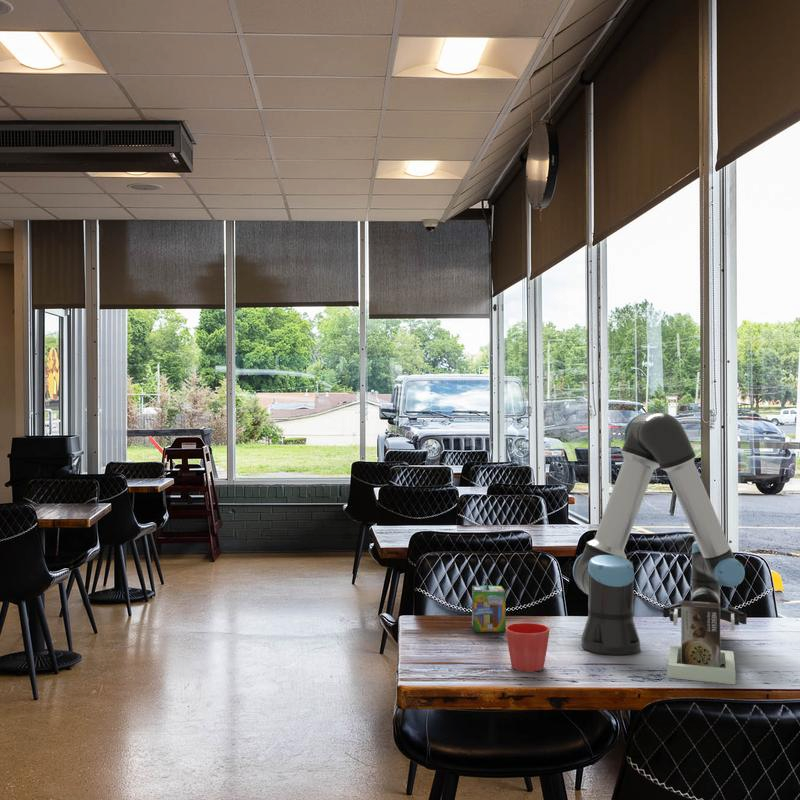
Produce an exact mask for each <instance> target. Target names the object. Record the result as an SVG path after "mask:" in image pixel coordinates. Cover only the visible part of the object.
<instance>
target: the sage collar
mask: <svg viewBox="0 0 800 800" xmlns="http://www.w3.org/2000/svg"><path fill="white" fill-rule="evenodd" d="M669 647H670V648H669V652H668V653H669V654H668V660H667V672H666V673H667V677H666V678H670V679H677V680H678V679H680V680H688V681H695V682H696V681H697V682H698V681H699V682H706V683H716V682H717V684H726V685H736V665H735V655H734V651H732V650H722V649H720V654H721V665H722V664H725V665H724V667H721V668H719V667H709V666H698V665H688V664H681V663H679V661H681V645H680V646H678V645H670V646H669Z"/></svg>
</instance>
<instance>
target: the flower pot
mask: <svg viewBox="0 0 800 800" xmlns="http://www.w3.org/2000/svg"><path fill="white" fill-rule="evenodd" d="M550 630H551V629H550V627H548V626H547V625H544V624H542V623H533V622H517V623H511V624H508V625H506V632H505V635H506V636H505V637H506V641H507V647H508V652H509V653H508V654H509V659H510V663H511V664H510V665H511V668H512V669H514V670H515V671H520V672H528V673H529V672H530V673H533V672H534V673H535V672H537V671H542V670H543V669H544V668H545V667H544V666H545V661H546V655H547V651H548V645H549V636H550Z"/></svg>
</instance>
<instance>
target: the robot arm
mask: <svg viewBox="0 0 800 800" xmlns="http://www.w3.org/2000/svg"><path fill="white" fill-rule="evenodd" d="M623 437H624V443H623V446H622V448H621V452H620V453H621V455H622V457H623V461H622V464H621V466H620V470H619V472H618V474H617V477H616V481H615V483H614V484H613V488H612V491H611V493H610V496H609V498H608V501H607V503H606V507H605V509H604V512H603V515H602V517H601V520H600V523H599V525H598V528H597V529H596V530H597V531H596V533H595V536H594V538H593V539H591V540H589V541H588V540H587V541H586V544H585V547H584V549H583V552H582V553H581V554H580V555H578V557H577V558H576V559H575V561H574V564H573V567H572V576H573V579H574V582H575V583H576V586H577V587H578V588H579V590H581V591H582V592H583V593H584V594H586V595H587V596H588V599H587V600H588V603H587V604H588V605H587V606H588V609H587V611H588V612H587V614H588V616H587V620H586V623H585V626H584V628H583V631H582V635H581V642H580V643H581V644H580V645H581V647H582V649H584V650H586V651H589V652H591V653H596V654H601V655H602V654H603V655H612V656H613V655H615V656H625V655H632V654H637V653H638V652H640V651H641V640H640V637H639V634H638V630H637V627H636V624H635V621H634V600H635V599H634V596H635V595H634V591H635V590H634V587H635V586H634V585H635V584H634V583H635V572H634V565H633V563H632V561H630V560H629V559H627V558H628V557H627V555H626V553H625V548H626V545H627V543H628V541H629V538H630V535H631V532H632V529H633V527H634V525H635V521H636V519H637V516H638V513H639V511H640V508H641V505H642V502H643V500H644V497H645V495H646V491H647V490H648V486H649V484H650V482H651V478H652V477H653V473H654V471H655V470H657V469H659V468H660V470H663V471H665V472H666V474H667V477H668V479H669V481H670V484H671V486H672V488H673V490H674V493H675V495H676V497H677V499H678V502H679V504H680V506H681V509H682V511H683V513H684V516H685V519H686V521H687V523H688V525H689V528H690V529H691V533H692V535H693V537H694V539H695V541H694V542H693V543H692V545H691V554H690V555H691V597H690V601H699V602H714V603H719V604H720V620H723V621H726V622H729V623H730V630H731V631H735V626H739V625H740V624H741V625H747V619H748V618H747V613H745V612H743V611H740V610H738V609H736V608H734V607H733V606H732V605H727V606H725V608H723V607H722V606H721V586H724V587H728V588H734V587H737V586H739V585H740V584H742V582H743V580H744V579H745V574H746V572H745V567H744V565H743V564H742V563H741V562H740V561H739V560H738V559H737V558H735V555H734V553H733V551H732V549H731V547H730V545H729V542H728V539H727V537H726V534H725V533H724V530H723V528H722V525H721V523H720V520H719V519H718V515H717V514H716V511H715V509H714V506H713V504H712V502H711V500H710V497H709V495H708V493H707V490H706V488H705V485H704V483H703V480H702V478H701V476H700V474H699V470H698V468H697V466H696V464H695V459H696V453H695V451H694V448H693V446H692V444H691V442H690V439H689V437H688V434H687V433H686V430H685V428H684V427H683V425H682V423H681V422H680V421H679V420H678V419H677V418H675V417H674V416H673V415H671V414H669V413H664V412H651V411H649V412H647V411H646V412H642V413H639V414H637V415H634V416H633V417H632V418H630V419H629V421H628V422H627V424H626V425H625V428H624V434H623ZM681 604H682V601H678V602H676V603H674V604H670V605H666V606H663V608H662V610H663V611H662V617H663V618H665V619H666V618H668V619H669V621H670V622H673V623H672V624H673V626H678V625H677V624H678V621H679V619H680V618H681Z"/></svg>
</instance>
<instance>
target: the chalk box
mask: <svg viewBox="0 0 800 800" xmlns="http://www.w3.org/2000/svg"><path fill="white" fill-rule="evenodd" d="M483 579H484V582H485V585H472V586H471V628H472V630H473V632H474V633H486V632H490V633H492V632H493V633H494V632H495V633H496V632H502V633H503V632H504V633H506V626H507V625H506V624H507V622H506V620H507V618H506V615H507V614H506V613H507V612H506V591H505V589H504V587H503V586H502V585H489V584H488V581H487V577H486V576H485V575H483Z"/></svg>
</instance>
